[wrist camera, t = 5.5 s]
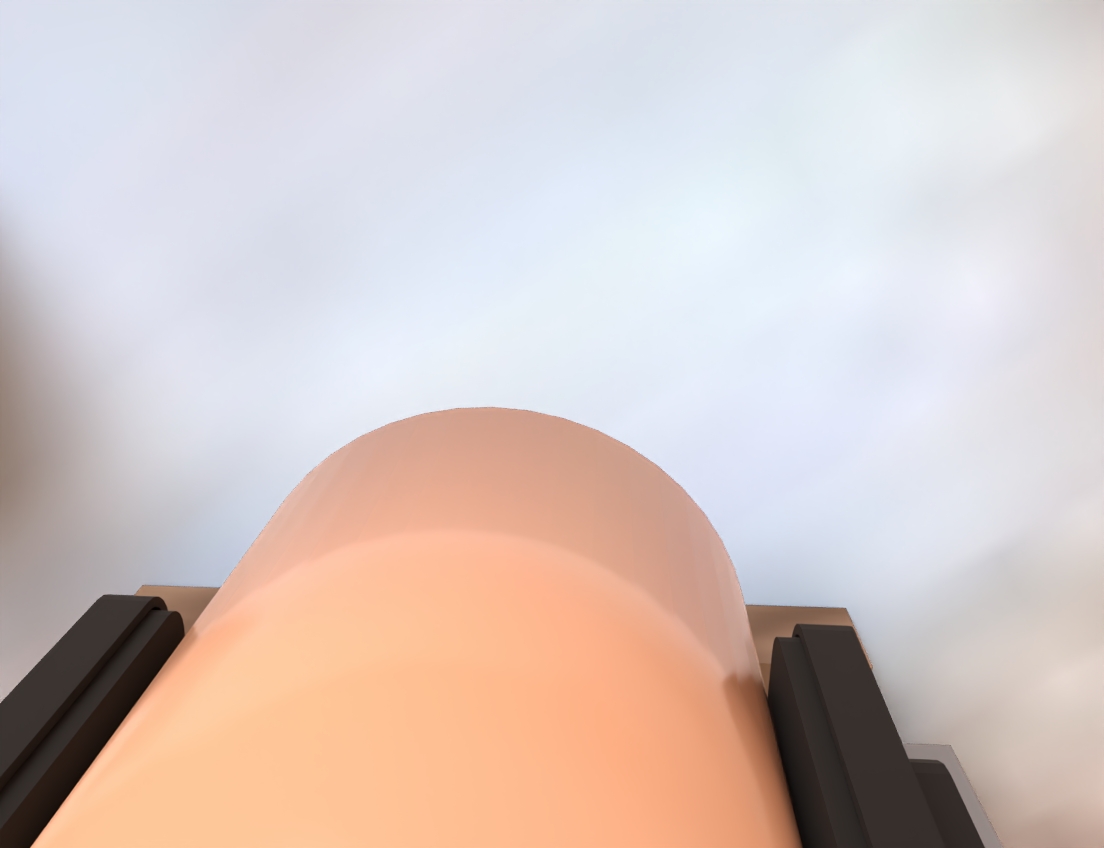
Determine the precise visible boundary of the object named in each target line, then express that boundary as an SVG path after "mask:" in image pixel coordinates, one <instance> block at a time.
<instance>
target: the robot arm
mask: <svg viewBox="0 0 1104 848" xmlns="http://www.w3.org/2000/svg"><path fill="white" fill-rule="evenodd" d="M184 637H185V630H184V623H183V619H182V617H181V614H180V613H179V612H177V611H168V609H167V606H166V604H165V602H164V600H163V599H162V598H160V597H157V596H134V595H103V596H102V597H100V598H99V599H98V600H97V601H96V602H95V603H94V604H93V605H92V606H91V607H90V608H89V609H88V610H87V612H86V613H85V614H84V615H83V616H82V617H81V618H80V619H79V620H78V621H77V622H76V623H75V624H74V625H73V626H72V628H71V629H70V630H69V631H68V632H67V633H66V634H65V635H64V636H63V637H62V638H61V639H60V640H59V641H58V642H57V643H56V645H55V646H54V647H53V648H52V649H51V650H50V651H49V652H48V653H47V654H46V655H45V656H44V657H43V658H42V659H41V661H40V662H39V663H38V664H37V665H36V666H35V667H34V668H33V669H32V670H31V671H30V672H29V673H28V674H27V675H26V676H25V678H24V679H23V680H22V681H21V682H20V683H19V684H18V685H17V686H16V687H15V688H14V689H13V690H12V691H11V692H10V694H9V695H8V696H7V697H6V698H5V699H4V700H3V701H2V702H1V703H0V848H31V846H32V845H33V844H34V842H35V841H36V839H37V838H38V837H39V835H40V834H41V833H42V831H43V830H44V828H45V827H46V826H47V824H48V823H49V822H50V820H51V819H52V818H53V816H54V815H55V813H56V812H57V811H58V809H59V808H60V807H61V805H62V804H63V802H64V801H65V800H66V798H67V797H68V796H69V794H70V793H71V792H72V790H73V789H74V787H75V786H76V785H77V783H78V782H79V781H80V779H81V778H82V776H83V775H84V774H85V772H86V771H87V770H88V768H89V767H90V766H91V764H92V763H93V761H94V760H95V759H96V757H97V756H98V755H99V753H100V752H101V750H102V749H103V748H104V746H105V745H106V744H107V742H108V741H109V740H110V738H111V737H112V735H113V734H114V733H115V731H116V730H117V729H118V727H119V726H120V724H121V723H122V722H123V720H124V719H125V718H126V716H127V715H128V714H129V712H130V711H131V709H132V708H133V707H134V705H135V704H136V703H137V701H138V700H139V698H140V697H141V696H142V694H143V693H144V692H145V690H146V689H147V688H148V686H149V685H150V683H151V682H152V681H153V679H154V678H155V677H156V675H157V674H158V672H159V671H160V670H161V668H162V667H163V666H164V664H165V663H166V662H167V660H168V659H169V657H170V656H171V655H172V653H173V652H174V651H175V649H176V648H177V646H178V645H179V644H180V642H181V641H182V640H183V638H184ZM768 702H769V706H770V710H771V714H772V719H773V723H774V727H775V731H776V735H777V739H778V743H779V748H780V752H781V756H782V760H783V764H784V768H785V772H786V777H787V781H788V785H789V789H790V793H791V797H792V802H793V806H794V810H795V814H796V818H797V822H798V826H799V831H800V835H801V839H802V843H803V847H804V848H985V846H984V844H983V842H982V840H981V838H980V836H979V834H978V832H977V829H976V827H975V825H974V823H973V821H972V819H971V817H970V814H969V812H968V810H967V808H966V806H965V804H964V802H963V799H962V797H961V795H960V793H959V791H958V789H957V787H956V785H955V782H954V780H953V778H952V776H951V774H950V772H949V771H948V769H947V768H946V766H945V765H944V763H942V762H940V761H938V760H929V759H908V756H907V754H906V751H905V749H904V747H903V744H902V742H901V739H900V737H899V735H898V732H897V730H896V728H895V725H894V723H893V720H892V718H891V716H890V713H889V711H888V708H887V706H886V704H885V701H884V699H883V696H882V694H881V692H880V689H879V687H878V685H877V682H876V680H875V677H874V675H873V673H872V670H871V668H870V665H869V663H868V661H867V658H866V656H865V653H864V651H863V649H862V646H861V644H860V642H859V639H858V637H857V634H856V632H855V630H854V629H853V627H852V626H845V625H822V624H798V623H797V624H796V625H795V627H794V630H793V633H792V637H776V638H775V639H774V643H773V649H772V658H771V668H770V678H769V688H768Z"/></svg>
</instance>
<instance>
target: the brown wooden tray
mask: <svg viewBox="0 0 1104 848" xmlns="http://www.w3.org/2000/svg"><path fill="white" fill-rule="evenodd" d="M219 589H220V588H210V587H179V586H148V585H142V587H141V588H140V589H139V590H138V591H137V593H136V594H135V595H134V596H157V597H160V598H162V599H163V600H164V602H165V604H166V606H167V609H168V611H177V612H179V613H180V614H181V617H182V619H183V623H184V630H185V636H186V634H187V633H188V631H189V630H190V629H191V627H192V626H193V625H194V623H195V622H196V620H197V619H198V618H199V616H200V615H201V614H202V612H203V611H204V610H205V608H206V607H207V605H208V604H209V603H210V601H211V600H212V599H213V597H214V596H215V594H216V593H217V592H218V590H219ZM745 606H746V611H747V615H748V619H749V623H750V627H751V631H752V635H753V640H754V644H755V648H756V652H757V656H758V660H759V665H760V669H761V673H762V677H763V681H764V685H765V689H766V694H767V698H768V688H769V678H770V668H771V658H772V649H773V643H774V639H775V638H776V637H792V633H793V630H794V627H795V625H796V624H797V623H798V624H822V625H845V626H852V627H853V629H854V630H855V632H856V629H855V627H854V625H853V623H852V621H851V618H850V616H849V614H848V612H847V610H846V608H826V607H795V606H764V605H745ZM856 634H857V632H856ZM857 637H858V639H859V642H860V644H861V646H862V649H863V651H864V653H865V656H866V658H867V661H868V663H869V665H870V668H871V670H872V668H873V667H872V664H871V662H870V660H869V658H868V656H867V654H866V651H865V649H864V647H863V645H862V643H861V640H860V638H859V636H858V634H857Z"/></svg>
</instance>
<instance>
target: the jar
mask: <svg viewBox="0 0 1104 848" xmlns="http://www.w3.org/2000/svg"><path fill="white" fill-rule="evenodd" d="M31 848H804V847H803V843H802V839H801V835H800V831H799V826H798V822H797V818H796V814H795V810H794V806H793V802H792V797H791V793H790V789H789V785H788V781H787V777H786V772H785V768H784V764H783V760H782V756H781V752H780V748H779V743H778V739H777V735H776V731H775V727H774V723H773V719H772V714H771V710H770V706H769V702H768V698H767V694H766V689H765V685H764V681H763V677H762V673H761V669H760V665H759V660H758V656H757V652H756V648H755V644H754V640H753V635H752V631H751V627H750V623H749V619H748V615H747V611H746V606H745V602H744V598H743V595H742V591H741V588H740V584H739V581H738V578H737V574H736V571H735V568H734V566H733V563H732V561H731V559H730V557H729V555H728V553H727V550H726V548H725V546H724V544H723V542H722V540H721V538H720V537H719V535H718V534H717V532H716V530H715V529H714V527H713V526H712V524H711V523H710V521H709V520H708V518H707V516H706V515H705V513H704V512H703V511H702V510H701V509H700V507H699V506H698V505H697V504H696V503H695V502H694V501H693V499H692V498H691V497H690V496H689V495H688V494H687V492H686V491H685V490H684V489H683V488H682V487H681V486H680V485H679V484H678V483H676V482H675V481H674V480H673V479H672V478H671V477H670V476H669V475H667V474H666V473H665V472H664V471H663V470H662V469H661V468H660V467H658V466H657V465H656V464H654V463H653V462H651V461H650V460H648V459H647V458H645V457H644V456H643V455H641V454H640V453H638V452H637V451H635V450H634V449H632V448H631V447H629V446H627V445H625V444H623V443H621V442H620V441H618V440H616V439H614V438H612V437H610V436H608V435H606V434H604V433H602V432H600V431H598V430H595V429H592V428H590V427H587V426H584V425H581V424H578V423H575V422H573V421H570V420H567V419H564V418H560V417H556V416H551V415H547V414H542V413H538V412H533V411H528V410H518V409H507V408H497V407H482V408H456V409H450V410H443V411H437V412H430V413H424V414H420V415H417V416H413V417H410V418H407V419H403V420H400V421H396V422H393V423H390V424H387V425H385V426H383V427H381V428H378V429H376V430H374V431H372V432H369V433H367V434H365V435H363V436H360V437H358V438H357V439H355V440H354V441H352V442H350V443H349V444H347V445H346V446H344V447H342V448H341V449H339V450H337V451H336V452H334V453H333V454H331V455H330V456H329V457H328V458H326V459H325V460H324V461H323V462H321V463H320V464H319V465H318V466H317V467H315V468H314V469H313V470H312V471H311V472H309V473H308V474H307V475H306V476H305V477H304V478H303V480H302V481H301V482H300V483H299V484H298V485H297V486H296V487H295V488H294V490H293V491H292V492H291V493H290V494H289V495H288V496H287V497H286V499H285V500H284V501H283V503H282V504H281V506H280V507H279V508H278V510H277V511H276V512H275V514H274V515H273V516H272V518H271V519H270V521H269V522H268V523H267V525H266V526H265V527H264V529H263V530H262V532H261V533H260V534H259V536H258V537H257V538H256V540H255V541H254V542H253V544H252V545H251V547H250V548H249V549H248V551H247V552H246V553H245V555H244V556H243V558H242V559H241V560H240V562H239V563H238V564H237V566H236V567H235V568H234V570H233V571H232V573H231V574H230V575H229V577H228V578H227V579H226V581H225V582H224V584H223V585H222V586H221V588H220V589H219V590H218V592H217V593H216V594H215V596H214V597H213V599H212V600H211V601H210V603H209V604H208V605H207V607H206V608H205V610H204V611H203V612H202V614H201V615H200V616H199V618H198V619H197V620H196V622H195V623H194V625H193V626H192V627H191V629H190V630H189V631H188V633H187V634H186V636H185V637H184V638H183V640H182V641H181V642H180V644H179V645H178V646H177V648H176V649H175V651H174V652H173V653H172V655H171V656H170V657H169V659H168V660H167V662H166V663H165V664H164V666H163V667H162V668H161V670H160V671H159V672H158V674H157V675H156V677H155V678H154V679H153V681H152V682H151V683H150V685H149V686H148V688H147V689H146V690H145V692H144V693H143V694H142V696H141V697H140V698H139V700H138V701H137V703H136V704H135V705H134V707H133V708H132V709H131V711H130V712H129V714H128V715H127V716H126V718H125V719H124V720H123V722H122V723H121V724H120V726H119V727H118V729H117V730H116V731H115V733H114V734H113V735H112V737H111V738H110V740H109V741H108V742H107V744H106V745H105V746H104V748H103V749H102V750H101V752H100V753H99V755H98V756H97V757H96V759H95V760H94V761H93V763H92V764H91V766H90V767H89V768H88V770H87V771H86V772H85V774H84V775H83V776H82V778H81V779H80V781H79V782H78V783H77V785H76V786H75V787H74V789H73V790H72V792H71V793H70V794H69V796H68V797H67V798H66V800H65V801H64V802H63V804H62V805H61V807H60V808H59V809H58V811H57V812H56V813H55V815H54V816H53V818H52V819H51V820H50V822H49V823H48V824H47V826H46V827H45V828H44V830H43V831H42V833H41V834H40V835H39V837H38V838H37V839H36V841H35V842H34V844H33V845H32V846H31Z"/></svg>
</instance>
